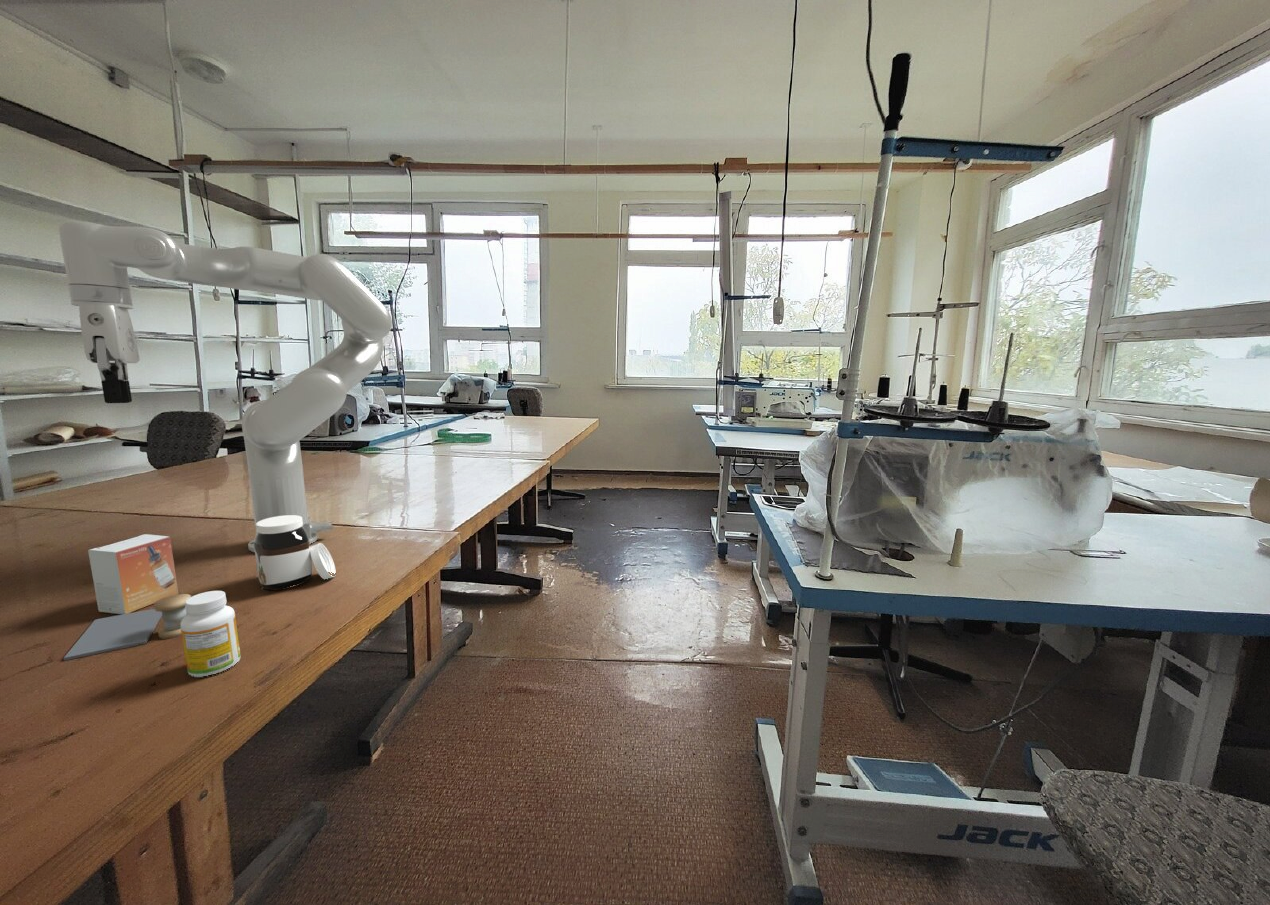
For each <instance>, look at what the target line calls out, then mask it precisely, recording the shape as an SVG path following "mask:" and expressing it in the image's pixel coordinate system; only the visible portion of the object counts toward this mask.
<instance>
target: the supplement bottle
mask: <svg viewBox="0 0 1270 905" xmlns="http://www.w3.org/2000/svg"><path fill="white" fill-rule="evenodd" d="M226 596H227V595H226V592H225V591H222V590H211V591H210V590H209V591H204V592H201V593H198V594H197V593H196V594H195V595H191V597H190V598H188V599H187V600H186V601H185V608H186V613H187V616H185V617H184V618H183V620H182V621H181V633H182V636H181V639H182V644H183V652H184V657H185V665H186V669H187V673H188V675H189V676H190V675H191V677H193V676H194V677H193V678H204V677H203V676H207V677H209V676H208V675H211V674H216V673H218V672H221V671H223V670H226V669H228V668H230V667H231V666H233V667H234V665H235V664H236V663H237V662H238V663H239V662H240V660H241V658H242V657H241V649H240V642H239V634H238V627H237V626H238V625H237V620H236V612H235V610H234V608H233V607H231V606H229V605H227V597H226ZM238 663H237V664H238ZM237 664H236V665H237ZM236 665H235V666H236ZM230 669H231V668H230ZM228 670H229V669H228ZM226 671H227V670H226ZM216 675H217V674H216Z"/></svg>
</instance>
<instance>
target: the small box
mask: <svg viewBox="0 0 1270 905" xmlns="http://www.w3.org/2000/svg"><path fill="white" fill-rule="evenodd" d="M171 540H172V539H171V537H170V536H167V535H166V536H165V535H159V534H158V535H157V534H147V533H145V534H141V535H138V536H135V537H131V538H128V539H125V540H121V541H117V542H114V543H111V544H106V545H103V546H99V547H94V548H91V549H88V557H89V565H90V569H91V576H92V579H93V580H92V581H93V586H94V591H95V599H96V604H97V609H98V612H99V613H108V614H115V615H123V614H128V613H133V612H136V611H138V610H141V609H143V608H145V607H149V606H150V605H154V603H155V602H156V601H158V600H160V599H162V598H165V597H168V596H172V595H178V594H179V591H178V590H179V589H178V583H177V575H176V570H175V561H174V556H173V549H172V542H171Z"/></svg>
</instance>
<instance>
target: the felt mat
mask: <svg viewBox="0 0 1270 905" xmlns="http://www.w3.org/2000/svg"><path fill="white" fill-rule="evenodd" d="M161 618H162V612H157V611H155V610H154V608H150V609H145V610H140V611H133V612H131V613H128V614H123V615H122V614H116V615H112V616H108V617H107V616H106V617H102V618H97V619H94V620H93V622H92V623H91V624H90V625H89V626H88V628H87V629H86V630H85V631H84V632H83V634H82V635H81V636H80V637H79V638H78V640H77V641H76V642H75V644H74V645H73V646H72V647H71V648H70V650H69V651H68V652H67V653H66V655H65V656H64V657H63V661H70V660H73V659H79V658H83V657H84V658H85V657H88V656H93V655H97V654H102V653H107V652H111V651H115V650H116V651H117V650H121V649H126V648H130V647H135V646H140V645H145V644H147V642H148V641H149V639H150V637H151V636H152V634H153V632H154V631H155V629H156V627H157V625H158V623H159V621H160V620H161ZM139 644H140V645H139Z"/></svg>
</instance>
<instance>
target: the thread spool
mask: <svg viewBox="0 0 1270 905" xmlns="http://www.w3.org/2000/svg"><path fill="white" fill-rule="evenodd" d="M190 597H192V595H191V594H189V593H178V594H177V595H172V596H168V597H165V598H162V599H160V600H158V601H156V602H155V603H153V607H154V608H153V609H154V610H155V611H157V612H162V616H161V618H162V622H163V626H162V627H160V628H159V629H158V630H157V633H158V638H159V639H162V640H167V639H174V638H179V637H182V633H181V621H182V620H183V618H184V617H185V616H187V615H188V614H187V613H186V608H185V601H186V600H187V599H188V598H190Z"/></svg>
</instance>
